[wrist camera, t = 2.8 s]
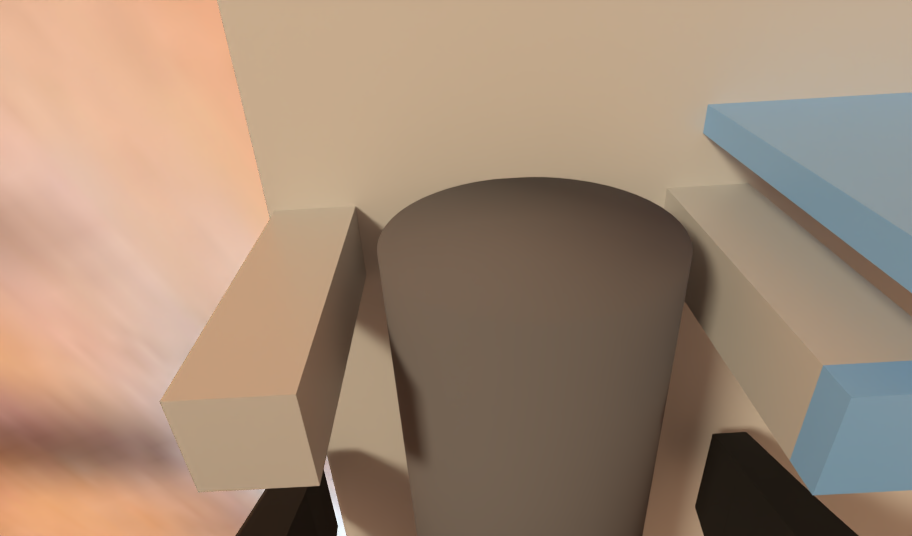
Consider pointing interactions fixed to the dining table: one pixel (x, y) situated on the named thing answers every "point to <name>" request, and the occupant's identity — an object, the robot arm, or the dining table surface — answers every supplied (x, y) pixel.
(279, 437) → the base plate with posts
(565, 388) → the dark brown cylinder post
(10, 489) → the dining table surface
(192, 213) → the dining table surface
